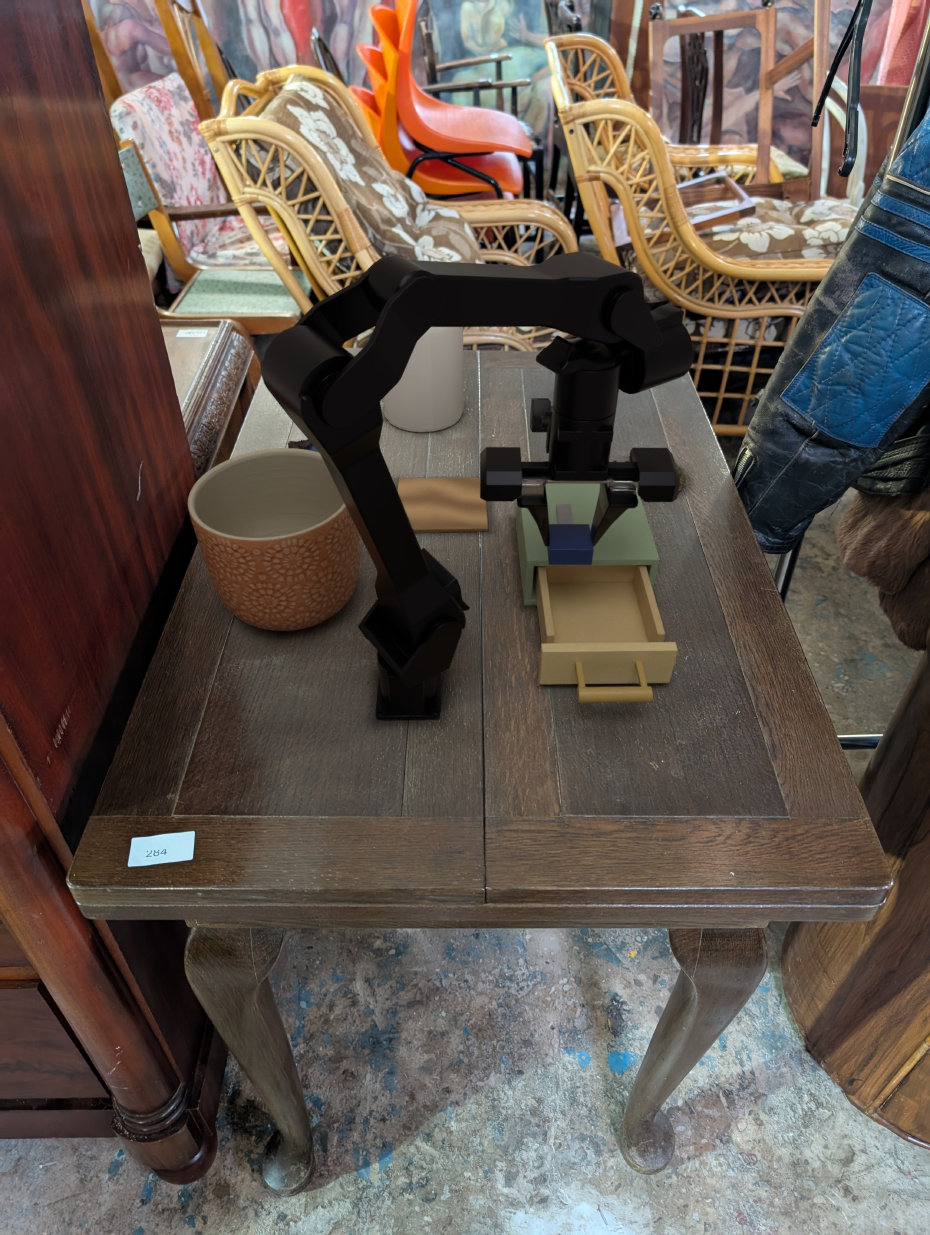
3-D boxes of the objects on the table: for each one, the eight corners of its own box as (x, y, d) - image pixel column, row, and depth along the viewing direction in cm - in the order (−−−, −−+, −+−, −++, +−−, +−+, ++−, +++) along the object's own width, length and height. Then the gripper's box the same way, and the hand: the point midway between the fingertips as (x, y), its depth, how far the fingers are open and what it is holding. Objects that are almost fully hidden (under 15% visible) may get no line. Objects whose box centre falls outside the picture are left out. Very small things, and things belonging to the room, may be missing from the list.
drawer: (680, 720, 78) (689, 687, 74) (543, 722, 78) (546, 689, 74) (642, 585, 93) (649, 552, 89) (528, 586, 93) (530, 554, 89)
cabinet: (650, 604, 92) (659, 559, 87) (524, 605, 92) (527, 560, 87) (626, 519, 104) (634, 476, 99) (515, 521, 104) (517, 477, 99)
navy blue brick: (591, 565, 81) (593, 549, 80) (548, 565, 81) (550, 549, 80) (582, 511, 88) (584, 496, 87) (543, 511, 88) (544, 496, 87)
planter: (397, 601, 92) (388, 490, 82) (274, 676, 83) (246, 563, 73) (310, 537, 101) (292, 431, 91) (191, 599, 92) (156, 489, 82)
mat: (487, 531, 102) (487, 528, 102) (394, 532, 102) (394, 529, 102) (484, 480, 111) (484, 477, 111) (398, 481, 111) (398, 478, 110)
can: (388, 395, 130) (379, 268, 116) (465, 396, 129) (464, 269, 116) (379, 433, 120) (368, 301, 107) (461, 435, 120) (461, 302, 106)
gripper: (671, 366, 77) (647, 500, 88) (480, 366, 78) (479, 499, 88) (695, 423, 69) (665, 563, 80) (481, 422, 69) (479, 562, 80)
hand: (569, 544), depth 82 cm, fingers closed on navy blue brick, 4 cm apart
